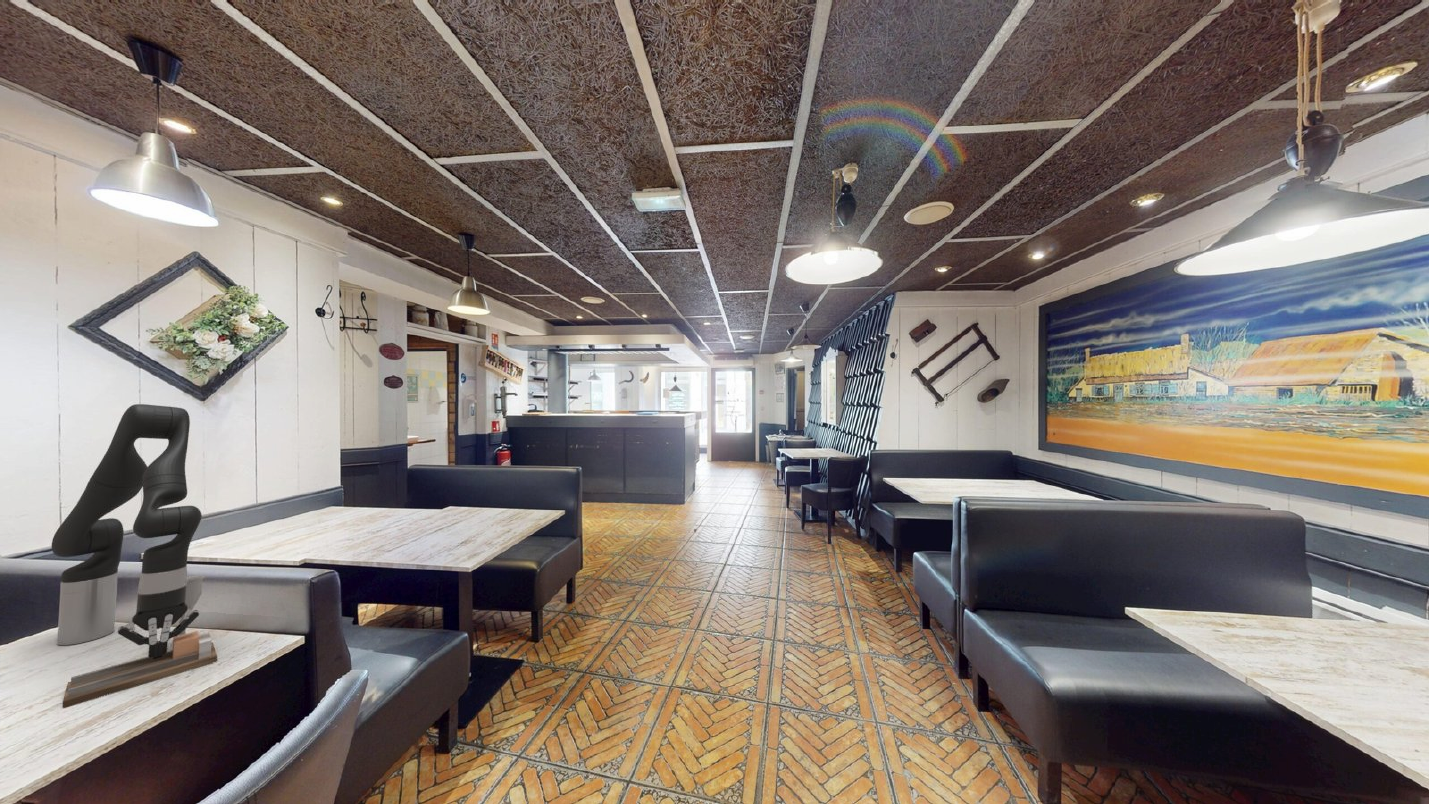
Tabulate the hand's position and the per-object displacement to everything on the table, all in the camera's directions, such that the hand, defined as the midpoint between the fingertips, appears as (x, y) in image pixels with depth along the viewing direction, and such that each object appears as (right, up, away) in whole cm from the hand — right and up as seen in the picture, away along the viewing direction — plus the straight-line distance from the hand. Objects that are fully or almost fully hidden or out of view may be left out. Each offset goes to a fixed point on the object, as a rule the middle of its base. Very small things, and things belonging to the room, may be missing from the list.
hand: (157, 657), depth 106 cm
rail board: (-1, -4, -1) cm, 4 cm away
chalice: (-9, -4, +12) cm, 15 cm away
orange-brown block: (+3, -2, +4) cm, 5 cm away
